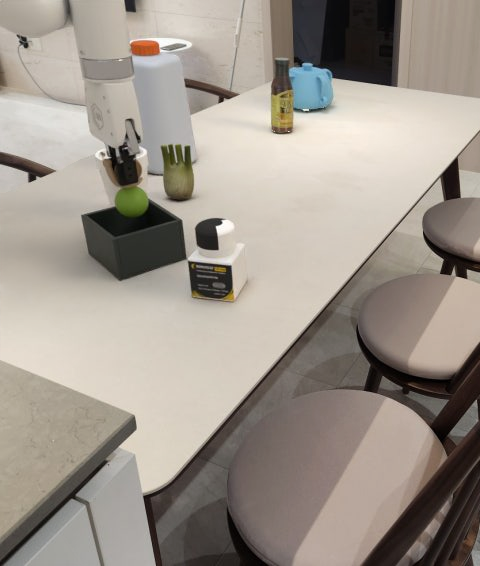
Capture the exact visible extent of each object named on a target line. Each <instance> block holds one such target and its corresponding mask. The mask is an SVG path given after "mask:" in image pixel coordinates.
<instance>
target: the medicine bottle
mask: <svg viewBox="0 0 480 566" xmlns="http://www.w3.org/2000/svg"><path fill="white" fill-rule="evenodd" d="M194 234H195V243H196V248H195V250H194V251H193V252H192V254H191V255H189V257H188V258H187V265H188V267H187V268H188V275H189V282H190V283H189V284H190V292H191V296H192V298H198V299H204V300H205V299H206V300H214V301H223V302H231V303H233V302H235V301H236V299H237V298H238V296H239V294H240V293H241V291H242V289H243V288H244V287H245V286H244V285H246V283H247V282H248V275H247V274H248V273H247V272H248V271H247V257H246V244H244V243H241V242H240V243H239V242H236V241H237V240H236V228H235V224H234V223H233V222H232V221H231V220H229V219H226V218H223V217H211V218H210V217H209V218H207V219H203V220H201V221H199V222H198V223H197V224H196V225H195V226H194Z"/></svg>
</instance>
